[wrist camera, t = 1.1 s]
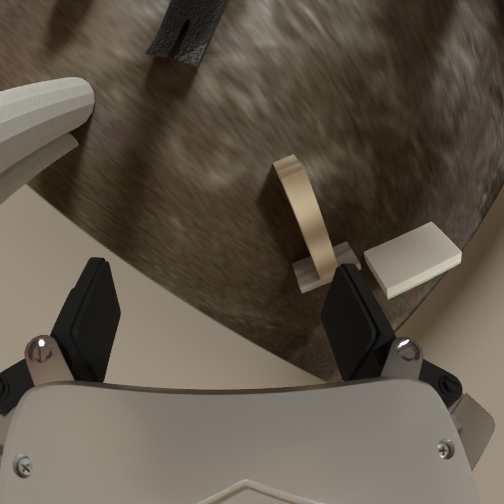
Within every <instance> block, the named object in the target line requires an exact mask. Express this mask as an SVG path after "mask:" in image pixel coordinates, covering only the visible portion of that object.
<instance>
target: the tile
mask: <svg viewBox="0 0 504 504" xmlns="http://www.w3.org/2000/svg"><path fill="white" fill-rule="evenodd" d="M461 254H462V252H461V251H460V250H459V249H458V248H457V246H456V245H455V244H454V243H453V242H452V241H451V240H450V239H449V238H448V237H447V236H446V235H445V234H444V233H443V232H442V231H441V230H440V229H439V228H438V227H437V226H436V225H435V224H434V223H433V222H429V223H427V224H425V225H423V226H421V227H419V228H416V229H414V230H412V231H410V232H408V233H405V234H403V235H401V236H399V237H396V238H394V239H392V240H390V241H387V242H385V243H383V244H381V245H378V246H376V247H374V248H371V249H369V250H367V251H364V257H365V261H366V263H367V265H368V267H369V268H370V270H371V272H372V273H373V275H374V276H375V278H376V280H377V281H378V283H379V285H380V286H381V288H382V290H383V292H384V293H385V295H386V297H387V298H388V299H390V298H392V297H394V296H396V295H398V294H400V293H403V292H405V291H407V290H409V289H411V288H413V287H415V286H417V285H419V284H421V283H423V282H425V281H427V280H429V279H431V278H433V277H435V276H437V275H439V274H441V273H443V272H445V271H446V270H448V269H450V268H452V267H454V266H456V265H457V264H459V263H461Z"/></svg>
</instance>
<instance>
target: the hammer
mask: <svg viewBox="0 0 504 504" xmlns="http://www.w3.org/2000/svg"><path fill="white" fill-rule="evenodd" d="M227 2H228V0H171V2H170V4H169V7H168V9H167V12H166V14H165V17H164V20H163V22H162V24H161V27H160V29H159V31H158V33H157V35H156V37H155V39H154V41H153V42H152V44H151V45H150V47H149V48H148V50H147V51H146V53H145V54H149V55H154V56H158V57H163V58H167V57H168V56H169V55H170V53H171V52H172V50H173V49H174V48H175V46H176V45H177V43H178V42H179V40H180V39H181V37H182V35H183V33H184V31H185V30H186V28H187V26H188V24H189V22H190V26H189V28H188V31H187V33H186V36H185V38H184V40H183V42H182V44H181V46H180V48H179V50H178V52H177V54H176V56H175V58H174V60H175V61H179V62H183V63H187V64H190V65H194V66H198V64H199V62H200V60H201V58H202V56H203V54H204V52H205V50H206V48H207V46H208V44H209V42H210V40H211V37H212V35H213V33H214V31H215V29H216V26H217V24H218V22H219V20H220V17H221V15H222V13H223V11H224V9H225V6H226V4H227Z"/></svg>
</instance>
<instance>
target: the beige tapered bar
mask: <svg viewBox="0 0 504 504" xmlns="http://www.w3.org/2000/svg"><path fill="white" fill-rule="evenodd" d="M273 165H274V167H275V169H276V172H277V174H278V176H279V179H280V181H281V183H282V186H283V188H284V191H285V193H286V195H287V198H288V200H289V203H290V205H291V207H292V210H293V212H294V215H295V217H296V220H297V222H298V225H299V227H300V230H301V232H302V235H303V237H304V240H305V242H306V245H307V247H308V250H309V253H310V255H311V256H309V257H307V258H305V259H302V260H300V261H297V262H295V263H292V266H293V269H294V272H295V275H296V278H297V281H298V284H299V287H300V290H301V292H302V293H305V292H307V291H310V290H312V289H315V288H317V287H320V286H322V285H325V284H327V283H329V282H332V279H333V276H334V273H335V270H336V268H337V267H340V265H341V264H342V263H354V264H355V265H356V266H357V268H358V269H359V270H360V269H361V265H360V262H359V261H358V259H357V257H356V256H355V254H354V252H353V251H352V249H351V248H350V246H349V244H348V243H347V241H346V242H343V243H341V244H338V245H336V246H334V247H332V245H331V242H330V239H329V236H328V233H327V230H326V227H325V224H324V221H323V218H322V215H321V212H320V209H319V206H318V203H317V200H316V198H315V195H314V192H313V189H312V186H311V184H310V181H309V178H308V176H307V173H306V170H305V168H304V167H303V166H302V164H301V163H300V162H299V161H298V159H297V158H296V157H295V156H294V154H293V155H291V156H289V157H286V158H284V159H281V160H279V161H276V162H274V163H273Z"/></svg>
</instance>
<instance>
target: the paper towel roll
mask: <svg viewBox="0 0 504 504" xmlns="http://www.w3.org/2000/svg"><path fill="white" fill-rule="evenodd" d="M94 103H95V100H94V92H93V90H92V88H91V86H90V84H89V83H88V82H86V81H85V80H84V79H82V78H78V77H68V78H62V79H55V80H50V81H44V82H39V83H34V84H29V85H25V86H20V87H16V88H12V89H8V90H5V91H1V92H0V204H2V203H3V202H4V201H5V200H6V199H7V198H8V197H10V196H11V195H12V194H13V193H14V192H16V191H17V190H18V189H19V188H20V187H22V186H23V185H24V184H25V183H27V182H28V181H29V180H31V179H32V178H33V177H34V176H36V175H37V174H38V173H40V172H41V171H42V170H44V169H45V168H46V167H48V166H49V165H51V164H52V163H53V162H55V161H56V160H58V159H59V158H60V157H62V156H63V155H65V154H66V153H68V152H69V151H71V150H72V149H74V148H75V147H77V146H78V145H79V144H78V142H77V140H76V139H75V138H74V137H73V136H72V135H71V134H69V133H68V132H70V131H72V130H74V129H76V128H78V127H79V126H81V125H82V124H83V123H85V122H86V121H87V119H88V118H89V116H90V115H91V113H92V111H93V107H94Z"/></svg>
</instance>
